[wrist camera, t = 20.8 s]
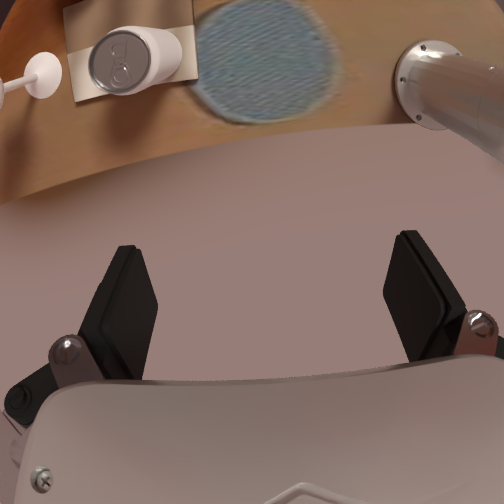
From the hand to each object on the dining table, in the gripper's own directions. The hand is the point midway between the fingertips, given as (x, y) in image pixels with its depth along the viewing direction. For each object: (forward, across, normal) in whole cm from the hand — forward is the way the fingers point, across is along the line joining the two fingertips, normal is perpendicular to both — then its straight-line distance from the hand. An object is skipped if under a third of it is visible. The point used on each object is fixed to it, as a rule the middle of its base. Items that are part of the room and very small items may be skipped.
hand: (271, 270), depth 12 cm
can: (+29, +11, -8) cm, 32 cm away
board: (+30, +14, -11) cm, 35 cm away
